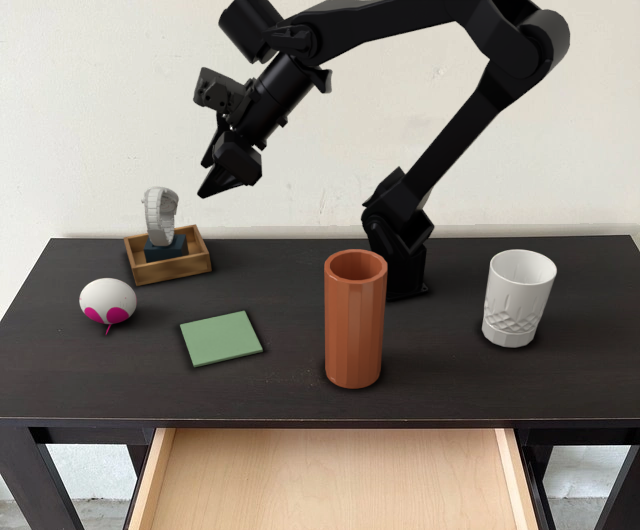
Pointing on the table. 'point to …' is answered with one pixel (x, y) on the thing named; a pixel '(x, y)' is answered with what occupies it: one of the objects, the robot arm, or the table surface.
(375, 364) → the vase
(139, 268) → the wooden box
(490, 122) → the robot arm
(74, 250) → the table surface
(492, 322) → the white cup
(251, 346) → the mat
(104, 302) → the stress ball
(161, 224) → the watch
